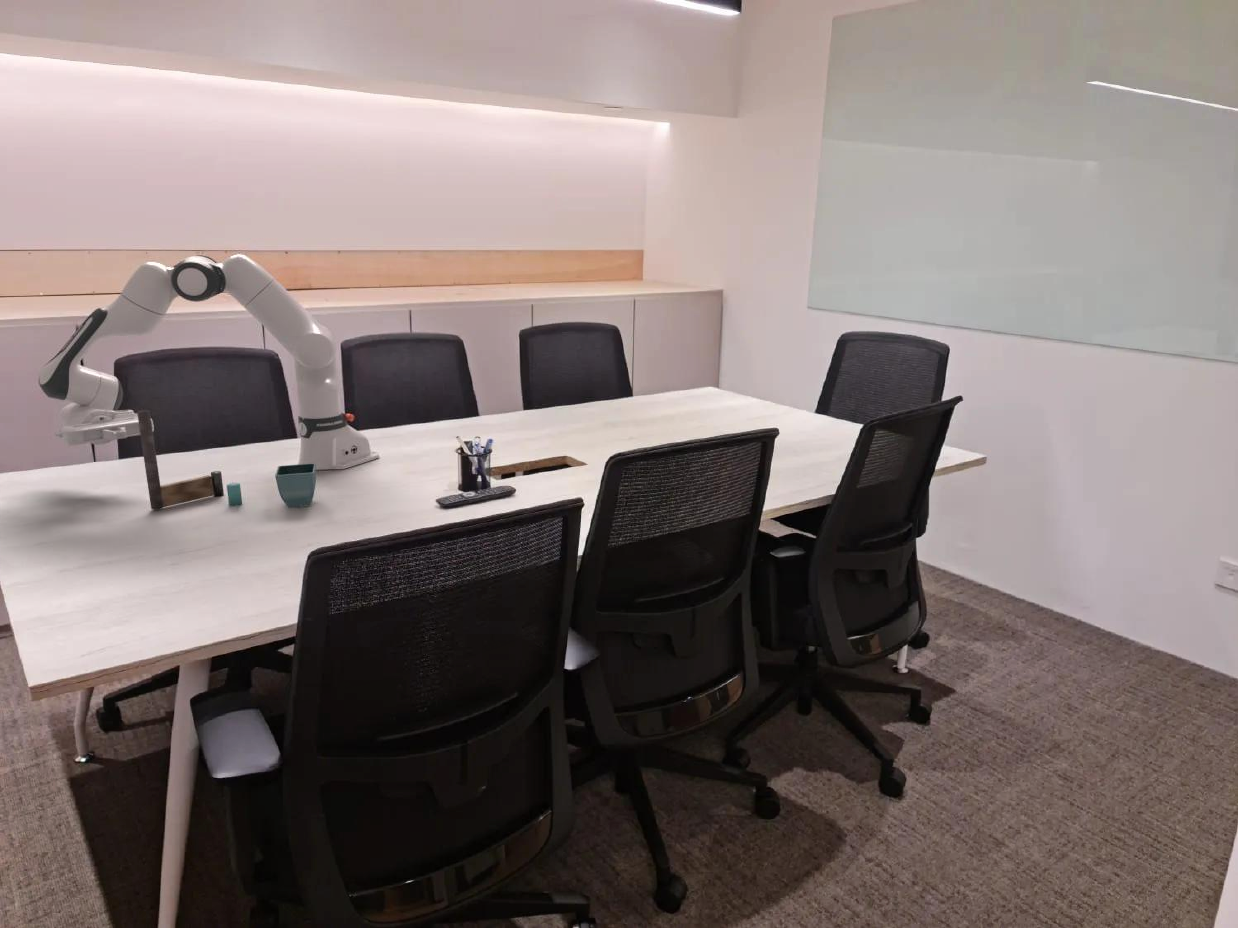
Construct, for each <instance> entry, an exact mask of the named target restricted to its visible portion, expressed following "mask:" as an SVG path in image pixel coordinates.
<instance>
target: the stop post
mask: <svg viewBox="0 0 1238 928" xmlns="http://www.w3.org/2000/svg"><path fill="white" fill-rule="evenodd" d="M226 490H227V500H228V505H229V507H238V506H241V505H243V498H242V497H243V496H242V488H241V483H239V482H233V483H228V484H226Z"/></svg>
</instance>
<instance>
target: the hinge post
mask: <svg viewBox="0 0 1238 928" xmlns="http://www.w3.org/2000/svg"><path fill="white" fill-rule="evenodd" d="M210 476H211V477H212V485H213V493H214V496H213V497H215V498H219V497H223V496H224V495H225V493H224V491H225V490H224V486H223V485H224V484H223V476H222V471H220V470H214V471H212V472H210Z"/></svg>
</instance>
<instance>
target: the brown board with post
mask: <svg viewBox="0 0 1238 928" xmlns="http://www.w3.org/2000/svg"><path fill="white" fill-rule="evenodd" d="M136 414H137V415H138V422H139V428H140V435H139V436H140V439H141V440H140V441H141V447H142V448H141V449H142V455H143V461H144V468H145V475H146V483H147V489H148V496H149V503H150V509H151V510H152V511H153V510H154V511H155V510H156V511H157V510H161V509H163V508H166V507H167V508H168V507H171V506H176V505H179V504H184V503H187V502H192V501H197V500H201V499H205V498H209V497H214V493H213V485H212V477H211V475H208V474H207V475H204V476H199V477H195V478H189V479H184V480H180V481H176V482H170V483H166V484H162V485H161V481H160V475H159V467H158V460H157V453H156V451H157V450H156V446H155V438H154V431H153V430H152V423H151V419H152V418H151V412H150V410H148V409H146V410H143V409H142V410H138V411H137V412H136Z"/></svg>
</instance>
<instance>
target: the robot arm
mask: <svg viewBox="0 0 1238 928" xmlns="http://www.w3.org/2000/svg"><path fill="white" fill-rule="evenodd" d="M222 293H226V294H228V295H230V297H233V299H235V300H236V301H237V302H238V303H239V304H240V305H241V306H242V307H243V308H244V309H245V310H247V312H248V313H249V314H251V315H252V317H254V318H255V319H256V320H257V321H258V322H259V323H260V324H261V325H263V327H265V329H266V330H267V331H268V332H269V333H270V334H271V335H272V336H273V337H274V338H275V340H276V341H277V342H279V344H281V346H282V347H284V349H285V350H286V351H287V352H288V353H289V354H290V355H291V356H292V357H293V361H294V370H295V382H296V393H297V403H298V413H299V415H298V416H297V420H298V432H299V436H300V448H299V449H300V450H299V451H300V453H299V459H298V463H297V465H299V464H311V463H315V464H316V471H318V470H320V471H321V470H345V469H347V468H351V467H354V466H357V465H360V464H363V463H367V462H369V461H373V460H377V459H379V458H380V455H379V454H380V453H379V452H377V451H375V450H373V449H371V446H370V441H369V439H368V437H367V436H366V435H365V434H363V433H361V432H360V431H358V430H357V429H355V428H353V427H352V426H350V425H349V423H348V422H353V421H354V420H355V416H354V414H351V413H346V414H345V413H343V412H342V409H341V397H340V387H339V378H338V377H339V376H338V368H337V359H336V358H337V357H336V355H337V354H336V353H337V343H336V341H335V338H334V337H333V334H332V332H331V331H330V330H329V329H328V328H327V327H326V326H324V325H323V324H321V323H320V322H318V321H317V319H315V318H314V316H313V315H311V314H310V312H308V310H306V308H305V307H304V306H303V305H302V304H301V303H300V302H299V300H298V299H296V298H295V297H294V296H293V295H292V294H291V292H289V291H288V290H287V288H285V287H284V286H283V285H282V283H280V282H279V281H278V280H277V279H276V278H275V277H274V276H273V275H272V274H271V273H270V272H269V271H268V270H266V269H265V268H264V267H263V266H261V265H260V264H259V263H257V262H256V261H254V259H252V258H250V257H249V256H247V255H245V254H238V253H237V254H234V255H232V256H229V257H227V258H226V259H224V261H222V262H219V263H218V262H217V261H216V260H214V259H213V258H211V257H209V256H207V255H201V254H200V255H192V256H188V257H185V258H183V259H181V260H180V261H179V262H178V263H177V264H175V265H173V266H172V267H170V266H167V265H164V264H162V263H159V262H155V261H147V262H144V263H142V264H141V265H139V267H138V268H137V269H136V270H135V271H134V273H133V274H132V275H131V277H130V278H129V279H128V281H127V282H126V283H125V285H124V287H123V289H122V290H121V293H120V294H119V295H118V297H117V298H116V299H115V300H114V301H113V302H111V303H110V304H108V305H107V306H105V307H98V308H96V309H95V310H93V311H92V312H91V313H90V314H89V315H88V316H87V318H86V319H85V320H84V321H83V322H82V323H81V324H80V325H79V327H78V328H77V329H76V331H75V332H74V333H73V334H72V335H71V337H70V338H69V339H68V341H66V343H65V344H64V345H63V347H62V348H60V350H59V351H58V352H57V354H56V355H55V356H54V357H52V358H51V360H49V361H48V362H47V363H46V364H45V365H44V367H43V368H42V370H41V372H40V374H39V377H38V384H39V385H38V386H39V387H40V388H41V390H42V391H43V393H44V394H45V395H46V396H47V398H51V399H55V400H61V401H66V402H69V404H67V405H65V406H64V407H62V409H61V410H60V411H59V415H58V419H59V424H60V426H61V428H60V430H58V431H56V432H54V436H55V437H57V438H61V440H62V442H63V444H65V445H67V446H77V445H78V446H79V445H85V444H89V443H90V444H92V445H98V446H103V445H106V444H109V443H111V442H114V441H116V440H119V439H120V440H121V439H127V438H128V437H134V436H135V437H136V436H141V435H140V428H139V422H138V415H137V413H135V412H134V410H132V409H119V408H120V407H121V404H122V402H123V397H124V392H123V391H124V390H123V388H122V383H121V382H120V380H119V378H117V376H115V375H111V374H110V373H109V374H108V373H106V372H102V371H99V370H95V369H92V368H89V367H87V366H84V365H80V364H79V363H80V362H81V361H82V359H83V358H84V357H85V356H86V354H88V352H89V351H90V350H91V348H92V347H93V346H94V344H96V343H97V342H98V341H100V340H102V339H105V338H109V337H130V338H132V337H133V338H134V337H135V338H136V337H143V336H145V335H148V334H149V335H150V334H151V333H153V332H154V331H156V330H157V328H158V327H159V326H160V325H161V323H162V321H163V319H164V317H165V316H166V314H167V312H168V309H169V308H170V306H171V305H172V303H173V302H174V300H176V299H177V298H178V297H181V298H182V299H184V300H186V301H189V302H204V301H206V300H209V299H211V298H213V297H215V296H218V295H219V294H222ZM347 421H348V422H347ZM151 423H152V430H153V432H155V431H154V430H155V425H154V420H153V419H152V418H151Z"/></svg>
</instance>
